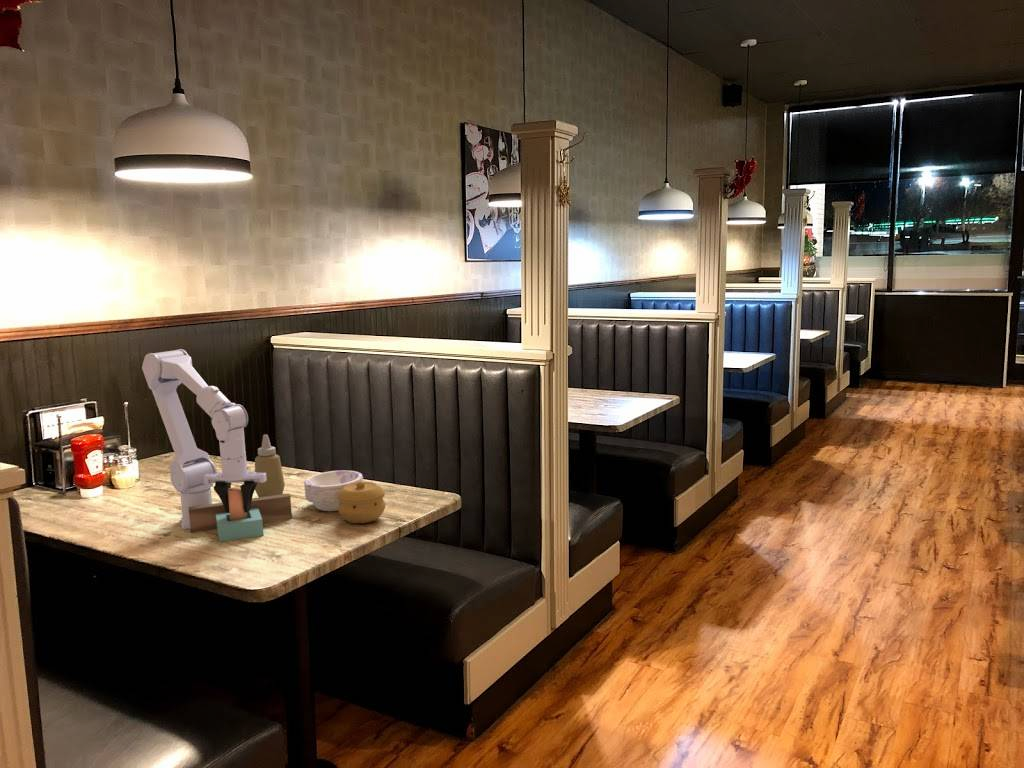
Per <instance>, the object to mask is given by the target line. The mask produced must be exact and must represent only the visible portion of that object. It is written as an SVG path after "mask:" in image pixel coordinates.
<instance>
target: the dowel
mask: <svg viewBox="0 0 1024 768" xmlns="http://www.w3.org/2000/svg"><path fill="white" fill-rule="evenodd" d="M228 501H229V513H230V521H234V520H241V519H248V518H247V513H245V512H244V501H243V495H242V491H241V488H240V486H233V487H232V486H231V488H229V489H228Z"/></svg>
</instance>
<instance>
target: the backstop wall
mask: <svg viewBox="0 0 1024 768" xmlns="http://www.w3.org/2000/svg"><path fill="white" fill-rule="evenodd" d="M291 501H292V500H291V494H290V493H283V494H281V495H274V496H266V497H252V501H251V509H253V508H258V509H259V512H260V514H261V517H262V522H263V523H270V522H275V521H276V522H277V521H284V520H289V519H292V518H293V515H292V514H293V513H292V502H291ZM188 508H189V519H190V529H189V530H190V534H194V533H200V531H202V532H208V530H209V531H214V530H213V529H215V530H217V523H216V514H217V513H224V512H226V511H225V508H224V506H223V503H222V502H217V503H216V502H215V503H212V504H207V505H200V506H192V507H188Z"/></svg>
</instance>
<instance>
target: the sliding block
mask: <svg viewBox="0 0 1024 768" xmlns="http://www.w3.org/2000/svg"><path fill="white" fill-rule="evenodd" d="M247 518H248V519H241V520H234V521H230V513H226V512H224V513H217V514H216V523H217V529H216V530H217V537H218V541H219V543H221V542H229V541H235V540H241V539H243V540H244V539H248V538H249V539H250V538H255V537H262V536H264V526H263V523H264V522H262V517H261V514H260V512H259V509H258V508H253V509H250V511H249V512H247Z"/></svg>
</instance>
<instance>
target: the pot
mask: <svg viewBox="0 0 1024 768" xmlns="http://www.w3.org/2000/svg"><path fill="white" fill-rule="evenodd" d="M385 496H386V494H385V490H384V488H383V487H382V486H381V485H379V484H377V483H374V482H371V481H368V482H367V481H364V480H363V481H359V482H357V483H353V484H349V485H347V486H345V487H343V488H342V489H341V490H340V492H339V493H338V498H337V499H338V500H339V501H340V504H339V506H338V511H337V512H338V513H339V515H340V516H341V518H342V519H343V520H345V521H346V522H348V523H353V524H367V523H371V522H374V521H376V520H377V519H380V517H381V516H382V515H383V513H384V512H385V509H386V505H387V503H386V501H385V500H384V497H385Z"/></svg>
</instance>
